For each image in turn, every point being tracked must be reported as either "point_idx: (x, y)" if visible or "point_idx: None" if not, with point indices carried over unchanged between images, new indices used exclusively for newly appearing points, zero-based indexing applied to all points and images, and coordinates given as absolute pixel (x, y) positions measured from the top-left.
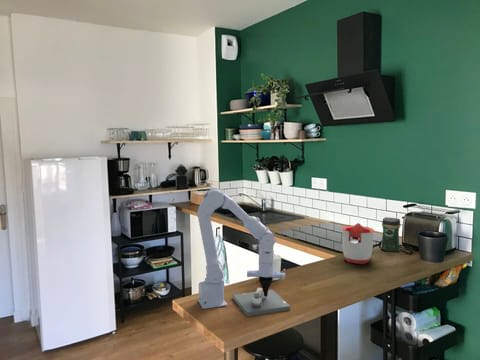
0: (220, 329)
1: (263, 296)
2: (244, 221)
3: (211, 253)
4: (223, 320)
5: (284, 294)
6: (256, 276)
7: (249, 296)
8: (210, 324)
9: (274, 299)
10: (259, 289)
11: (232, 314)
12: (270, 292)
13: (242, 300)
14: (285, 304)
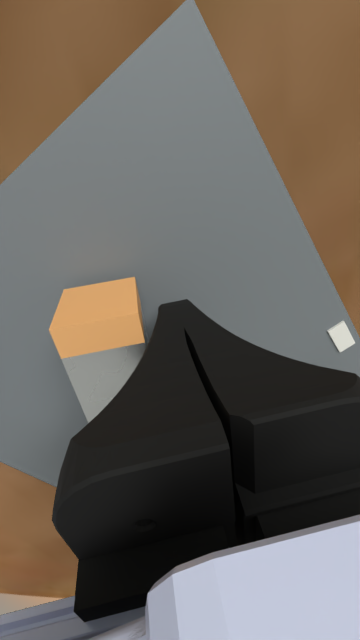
0: (69, 582)
1: (143, 294)
2: None
3: None
4: (35, 550)
5: (345, 11)
6: (24, 636)
7: (7, 344)
8: (5, 582)
9: (258, 315)
10: (103, 368)
11: (39, 507)
12: (190, 147)
13: (1, 429)
14: (345, 363)
